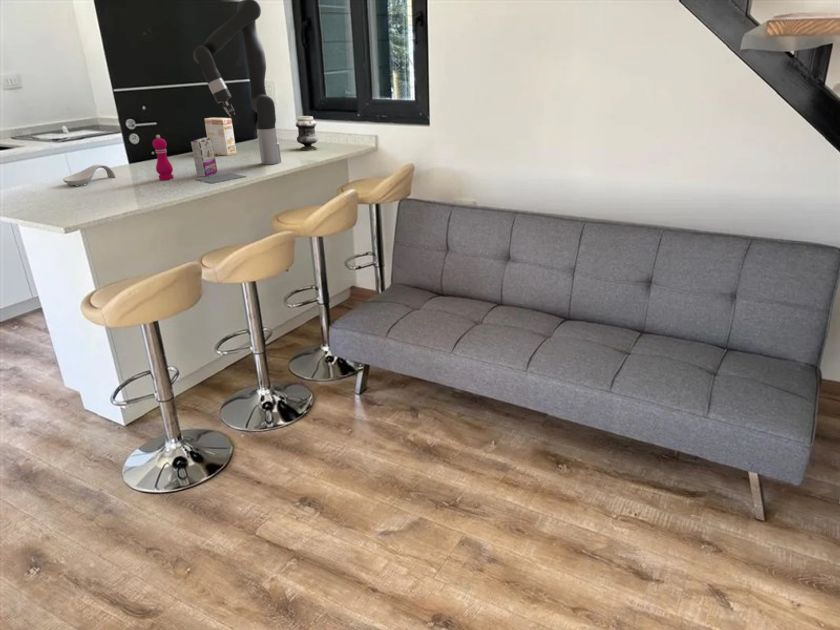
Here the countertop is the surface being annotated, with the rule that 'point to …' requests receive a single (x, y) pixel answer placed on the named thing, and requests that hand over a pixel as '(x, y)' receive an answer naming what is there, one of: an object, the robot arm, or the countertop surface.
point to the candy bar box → (204, 157)
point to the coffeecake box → (221, 135)
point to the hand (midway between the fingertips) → (236, 123)
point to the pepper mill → (162, 159)
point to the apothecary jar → (306, 132)
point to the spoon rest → (86, 175)
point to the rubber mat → (220, 177)
